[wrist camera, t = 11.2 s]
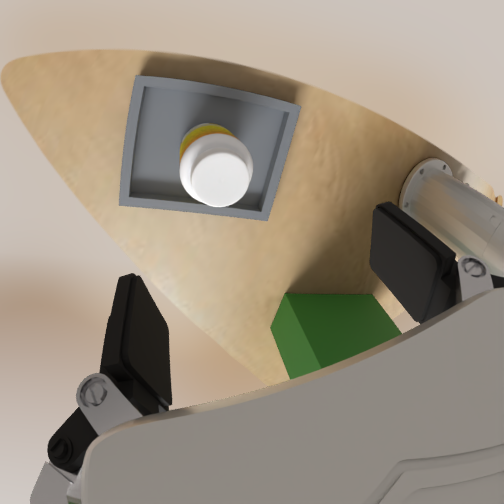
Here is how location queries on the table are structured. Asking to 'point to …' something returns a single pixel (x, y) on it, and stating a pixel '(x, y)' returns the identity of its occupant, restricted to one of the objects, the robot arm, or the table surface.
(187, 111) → the tray
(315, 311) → the hardback book
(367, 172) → the table surface
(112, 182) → the table surface
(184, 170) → the supplement bottle
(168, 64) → the table surface
